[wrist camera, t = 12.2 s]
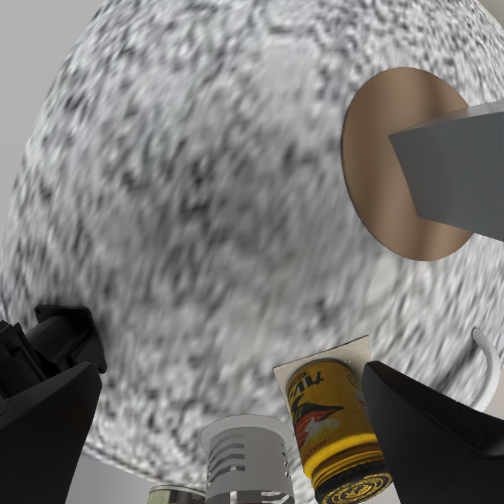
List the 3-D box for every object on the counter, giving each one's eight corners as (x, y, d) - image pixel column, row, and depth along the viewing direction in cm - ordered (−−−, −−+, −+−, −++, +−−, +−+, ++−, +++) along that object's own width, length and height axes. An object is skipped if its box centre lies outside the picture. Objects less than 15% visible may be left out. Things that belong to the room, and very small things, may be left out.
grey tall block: (418, 217, 19) (573, 268, 5) (387, 135, 17) (555, 105, 4) (467, 186, 18) (601, 210, 5) (442, 113, 17) (580, 90, 3)
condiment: (272, 367, 22) (294, 492, 10) (367, 334, 22) (441, 432, 10) (291, 419, 24) (314, 522, 12) (373, 390, 23) (424, 480, 12)
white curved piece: (375, 468, 28) (390, 503, 21) (318, 460, 26) (331, 505, 19) (492, 346, 24) (524, 372, 17) (460, 310, 22) (504, 342, 15)
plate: (340, 264, 20) (343, 267, 19) (332, 53, 16) (335, 50, 15) (481, 254, 20) (485, 256, 20) (478, 94, 17) (481, 93, 16)
